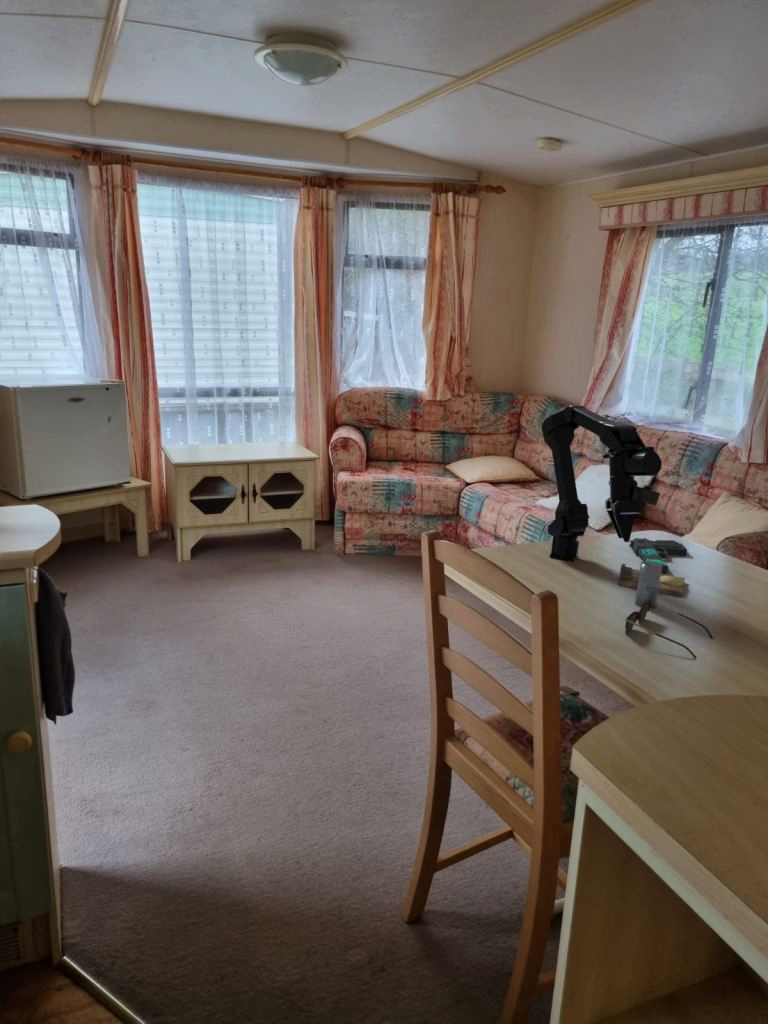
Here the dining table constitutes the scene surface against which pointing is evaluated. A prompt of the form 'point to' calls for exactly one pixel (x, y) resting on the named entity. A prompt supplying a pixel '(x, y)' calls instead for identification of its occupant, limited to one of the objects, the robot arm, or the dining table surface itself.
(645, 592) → the silver metal cylinder
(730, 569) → the dining table surface
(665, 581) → the door lock
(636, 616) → the sunglasses
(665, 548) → the handgun
